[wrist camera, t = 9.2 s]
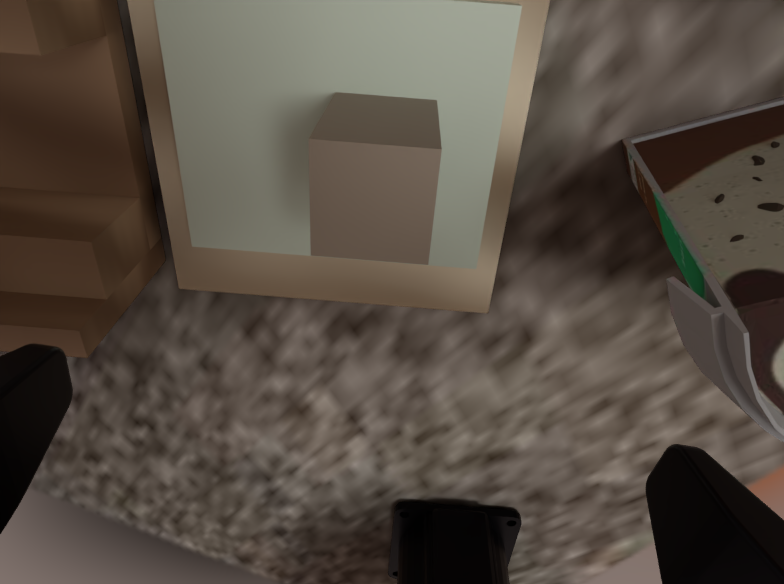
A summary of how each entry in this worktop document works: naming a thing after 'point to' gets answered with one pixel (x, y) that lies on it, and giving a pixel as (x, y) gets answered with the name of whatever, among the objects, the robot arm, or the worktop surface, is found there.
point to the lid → (338, 123)
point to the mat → (325, 273)
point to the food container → (724, 245)
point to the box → (70, 176)
